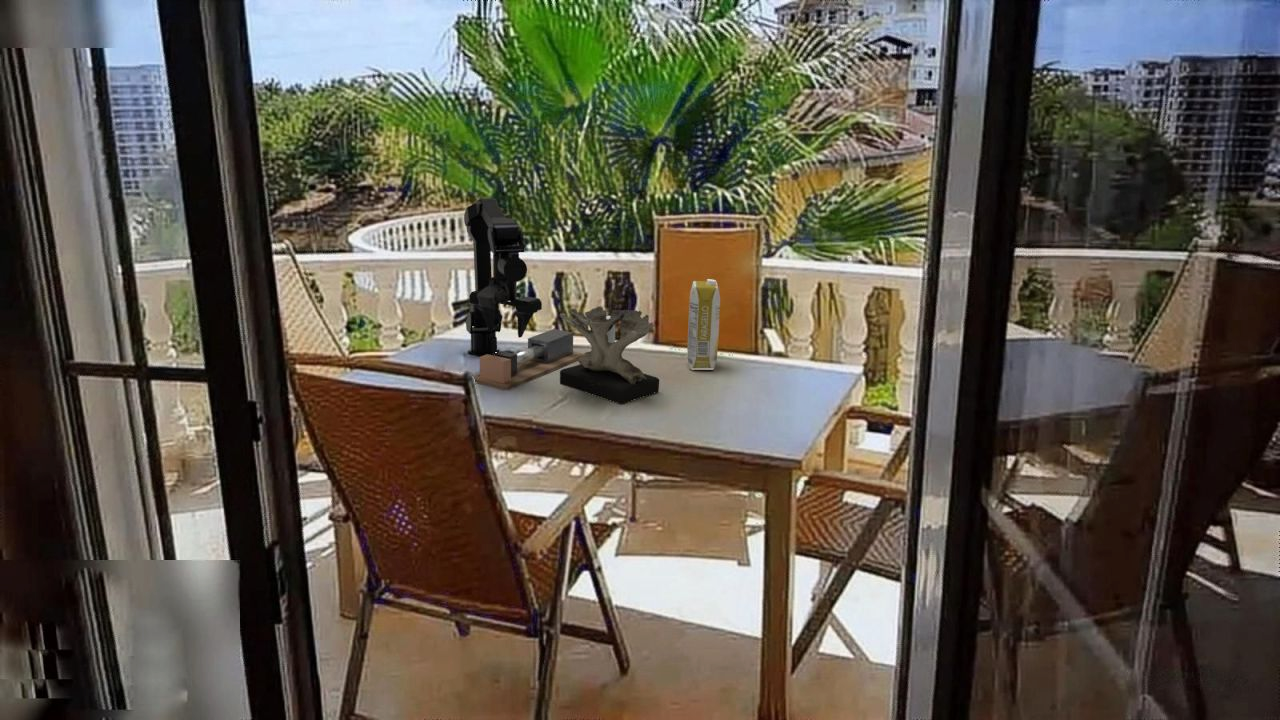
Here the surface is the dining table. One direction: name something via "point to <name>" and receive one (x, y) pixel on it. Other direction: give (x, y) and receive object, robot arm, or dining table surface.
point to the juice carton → (703, 324)
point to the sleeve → (553, 345)
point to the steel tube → (522, 356)
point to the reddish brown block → (495, 368)
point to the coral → (609, 356)
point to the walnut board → (529, 372)
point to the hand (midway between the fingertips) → (505, 334)
